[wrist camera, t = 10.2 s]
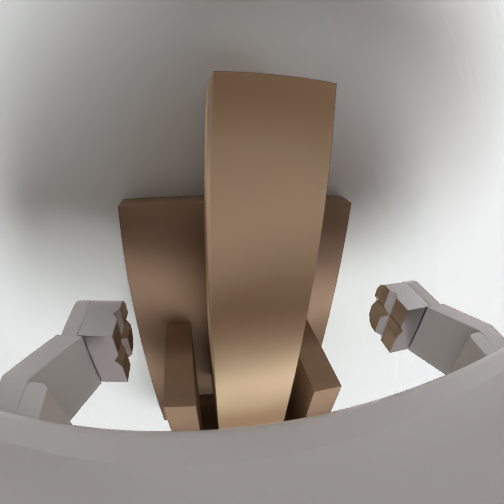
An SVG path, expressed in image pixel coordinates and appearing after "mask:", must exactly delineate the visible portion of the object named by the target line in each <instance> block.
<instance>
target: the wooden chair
mask: <svg viewBox="0 0 504 504" xmlns="http://www.w3.org/2000/svg"><path fill="white" fill-rule="evenodd" d="M350 207H351V202H349V201H348V200H346V199H345V198H343V197H342V196H326V200H325V208H324V216H323V223H322V230H321V237H320V243H319V250H318V256H317V263H316V269H315V275H314V281H313V286H312V292H311V298H310V303H309V308H308V314H307V319H306V324H305V329H304V334H303V339H302V344H301V349H300V353H299V358H298V363H297V367H296V372H295V376H294V380H293V385H292V389H291V393H290V397H289V402H288V406H287V410H286V414H285V418H284V421H289V420H295V419H300V418H305V417H310V416H315V415H320V414H325V413H329V412H331V410H332V407H333V405H334V403H335V400H336V398H337V396H338V393H339V391H340V388H341V384H340V382H339V380H338V378H337V376H336V374H335V373H334V371H333V369H332V367H331V365H330V363H329V361H328V359H327V357H326V355H325V353H324V351H323V349H322V347H321V345H322V342H323V338H324V334H325V330H326V326H327V322H328V318H329V314H330V309H331V305H332V301H333V296H334V292H335V287H336V283H337V278H338V273H339V268H340V263H341V258H342V253H343V248H344V242H345V237H346V231H347V225H348V219H349V213H350ZM118 210H119V219H120V228H121V235H122V243H123V250H124V256H125V263H126V269H127V275H128V280H129V286H130V291H131V296H132V301H133V306H134V311H135V316H136V320H137V325H138V329H139V333H140V337H141V342H142V346H143V350H144V353H145V357H146V361H147V365H148V368H149V372H150V376H151V379H152V382H153V386H154V389H155V392H156V396H157V399H158V402H159V405H160V408H161V411H162V414H163V417H164V420H168V422H169V425H170V428H171V431H196V430H214V429H218V425H217V418H216V411H215V403H214V396H213V388H212V380H211V369H210V354H209V338H208V320H207V299H206V272H205V231H204V196H183V197H160V198H141V199H125V200H123V201H122V202H121V203H120V205H119V206H118Z"/></svg>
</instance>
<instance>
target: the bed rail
mask: <svg viewBox="0 0 504 504" xmlns="http://www.w3.org/2000/svg"><path fill="white" fill-rule="evenodd" d="M335 99H336V83H332V82H327V81H321V80H314V79H308V78H301V77H293V76H284V75H275V74H264V73H250V72H230V71H213V73H212V76H211V78H210V80H209V82H208V84H207V87H206V106H205V145H204V231H205V272H206V299H207V320H208V338H209V354H210V369H211V380H212V388H213V396H214V403H215V411H216V418H217V425H218V429H227V428H237V427H247V426H255V425H263V424H270V423H277V422H283V421H284V418H285V414H286V410H287V406H288V402H289V397H290V393H291V389H292V385H293V380H294V376H295V372H296V367H297V363H298V358H299V353H300V349H301V344H302V339H303V334H304V329H305V324H306V319H307V314H308V308H309V303H310V298H311V292H312V286H313V281H314V275H315V269H316V263H317V256H318V250H319V243H320V237H321V230H322V223H323V216H324V208H325V200H326V192H327V184H328V175H329V166H330V157H331V147H332V136H333V125H334V112H335Z"/></svg>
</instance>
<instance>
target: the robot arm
mask: <svg viewBox="0 0 504 504" xmlns="http://www.w3.org/2000/svg"><path fill="white" fill-rule="evenodd" d="M375 297H376V299H377V301H376V302H375V303H374V304H373V305H372V306H371V310H370V313H369V316H370V323H371V326H372V328H373V329H374V331H375V332H377V333H378V334H380V335H381V341H382V342H383V344H384V345H385V347H386V348H387V349H388V351H389V352H390V353H391V352H395V351H400V350H404V349H408V348H409V349H408V350H410V351H411V352H413V353H414V354H416V355H417V356H419V357H420V358H422V359H423V360H425V361H426V362H428V363H429V364H431V365H432V366H434V367H435V368H436V369H438V370H439V371H441V372H442V373H444V374H445V376H442V377H440V378H437V379H435V380H432V381H430V382H427V383H425V384H422V385H419V386H417V387H414V388H411V389H408V390H405V391H403V392H400V393H397V394H394V395H391V396H388V397H384V398H381V399H378V400H375V401H371V402H368V403H364V404H361V405H357V406H353V407H350V408H346V409H342V410H338V411H333V412H329V413H325V414H320V415H315V416H310V417H305V418H300V419H295V420H289V421H283V422H277V423H270V424H263V425H255V426H247V427H237V428H227V429H214V430H196V431H132V430H115V429H102V428H92V427H84V426H76V425H72V424H71V422H70V420H71V419H72V418H73V417H74V415H75V414H76V413H77V412H78V410H79V409H80V408H81V407H82V406H83V404H84V403H85V402H86V401H87V400H88V398H89V397H90V396H91V395H92V394H93V392H94V391H95V390H96V389H97V388H98V386H99V385H100V384H101V381H105V382H128V377H129V370H130V362H129V359H128V357H129V356H130V355H131V354H132V350H133V334H132V328H131V324H130V323H129V322H128V321H127V320H126V318H127V314H128V311H127V308H126V304H125V302H124V301H95V300H93V301H91V300H79V301H77V302H76V303H75V305H74V307H73V309H72V311H71V313H70V316H69V318H68V320H67V322H66V325H65V327H64V329H63V331H62V334H61V335H56V336H55V337H53V338H52V339H50V340H49V341H48V342H46V343H45V344H44V345H42V346H41V347H40V348H38V349H37V350H36V351H34V352H33V353H32V354H30V355H29V356H28V357H26V358H25V359H24V360H22V361H21V362H20V363H18V364H17V365H16V366H14V367H13V368H12V369H11V370H9V371H8V372H7V373H5V374H4V375H3V376H2V379H1V381H0V504H504V337H503V336H502V335H501V334H500V333H499V332H498V331H497V330H496V329H495V328H494V327H493V326H492V325H490V324H488V323H485V322H483V321H481V320H479V319H476V318H474V317H472V316H470V315H468V314H465V313H463V312H461V311H458V310H456V309H454V308H452V307H449V306H447V305H445V304H440V303H439V302H438V301H437V300H436V299H435V298H433V297H432V296H431V295H430V294H429V293H428V292H427V291H426V290H425V289H424V288H423V287H422V286H421V285H420V284H419V283H418V282H417V281H414V280H412V281H406V282H402V283H394V284H386V285H380V286H379V287H378V289H377V291H376V294H375Z"/></svg>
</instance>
